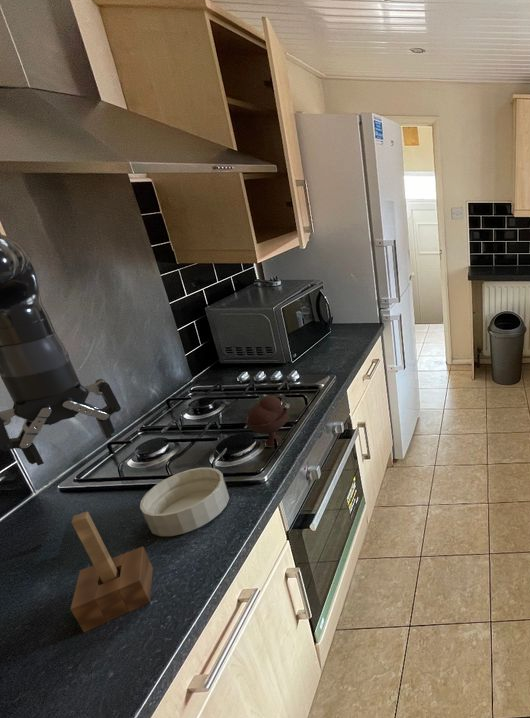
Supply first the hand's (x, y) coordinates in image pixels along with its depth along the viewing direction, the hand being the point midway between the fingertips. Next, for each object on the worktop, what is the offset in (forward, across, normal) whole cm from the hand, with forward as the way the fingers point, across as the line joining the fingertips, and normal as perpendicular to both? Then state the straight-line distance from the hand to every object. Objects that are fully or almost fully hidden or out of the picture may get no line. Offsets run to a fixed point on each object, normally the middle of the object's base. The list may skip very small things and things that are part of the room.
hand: (75, 449), depth 71 cm
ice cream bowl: (+30, -38, -19) cm, 52 cm away
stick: (+30, +3, +4) cm, 31 cm away
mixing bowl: (+30, -13, -9) cm, 34 cm away
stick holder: (+30, +3, +4) cm, 31 cm away
